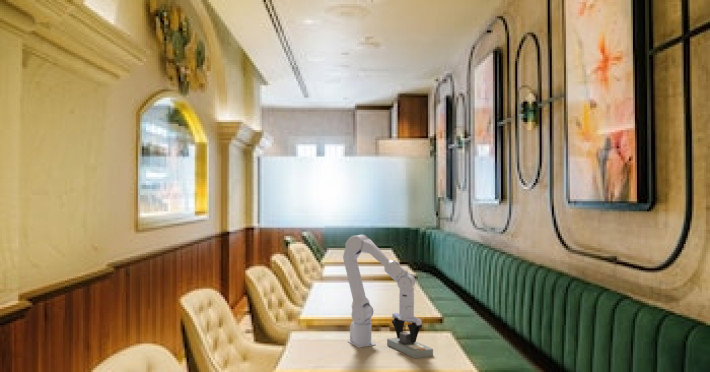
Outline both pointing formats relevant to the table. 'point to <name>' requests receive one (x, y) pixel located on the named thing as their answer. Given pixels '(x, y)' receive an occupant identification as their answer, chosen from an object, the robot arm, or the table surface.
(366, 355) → the table surface
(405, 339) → the plug block
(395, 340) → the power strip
